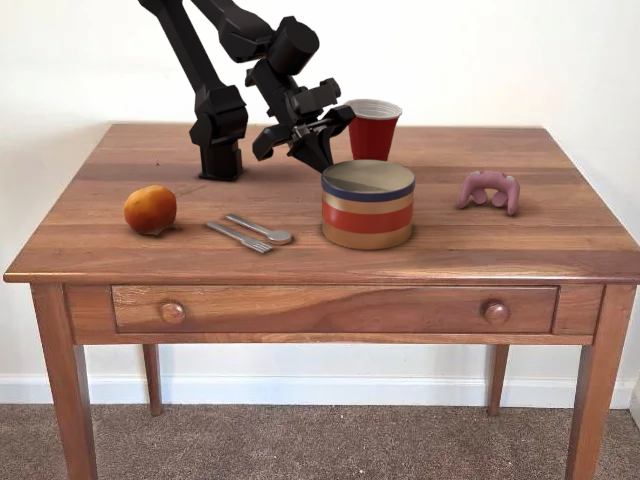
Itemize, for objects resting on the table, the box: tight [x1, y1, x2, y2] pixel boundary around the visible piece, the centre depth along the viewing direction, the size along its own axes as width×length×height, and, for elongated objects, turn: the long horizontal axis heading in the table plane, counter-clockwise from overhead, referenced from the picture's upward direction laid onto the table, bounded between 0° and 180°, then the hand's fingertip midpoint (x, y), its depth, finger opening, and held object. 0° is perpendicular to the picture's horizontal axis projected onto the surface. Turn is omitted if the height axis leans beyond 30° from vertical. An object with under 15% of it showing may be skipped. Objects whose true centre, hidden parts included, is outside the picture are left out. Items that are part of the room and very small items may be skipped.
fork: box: [205, 220, 274, 255], centre depth 114 cm, size 14×2×1 cm, turn 49°
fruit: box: [122, 184, 179, 237], centre depth 115 cm, size 8×8×8 cm
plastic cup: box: [343, 98, 403, 162], centre depth 137 cm, size 11×11×12 cm
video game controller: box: [457, 170, 521, 216], centre depth 125 cm, size 10×5×7 cm, turn 71°
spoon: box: [225, 213, 292, 246], centre depth 116 cm, size 14×4×1 cm, turn 49°
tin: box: [320, 159, 417, 251], centre depth 115 cm, size 14×14×9 cm
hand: (333, 177), depth 118 cm, fingers closed, pressing on tin
